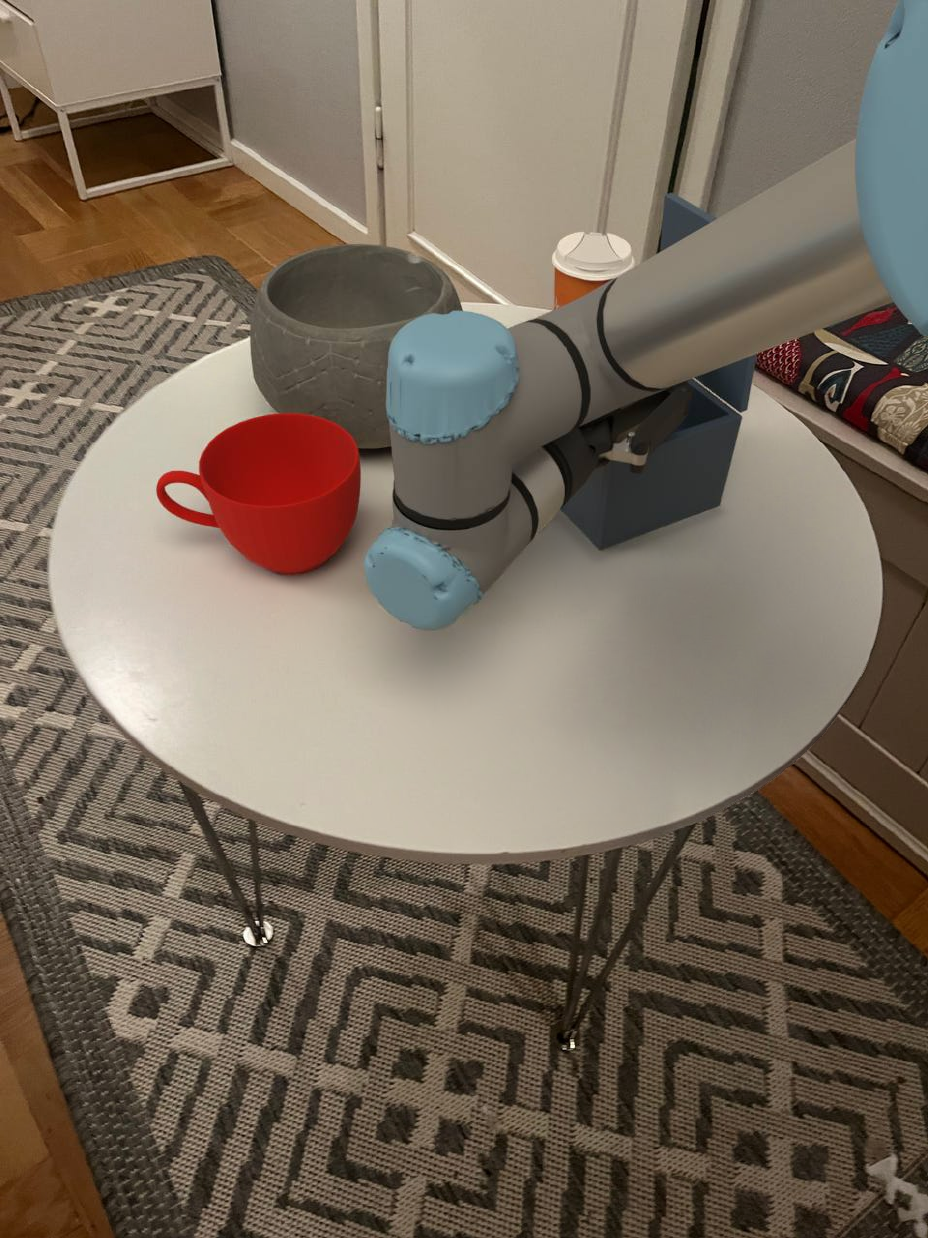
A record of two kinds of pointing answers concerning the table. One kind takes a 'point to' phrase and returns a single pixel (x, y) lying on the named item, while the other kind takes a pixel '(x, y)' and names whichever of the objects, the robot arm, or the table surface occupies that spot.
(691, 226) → the box lid
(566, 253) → the coffee cup
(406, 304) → the bowl
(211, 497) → the ceramic cup
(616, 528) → the open box
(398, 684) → the table surface
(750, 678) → the table surface
